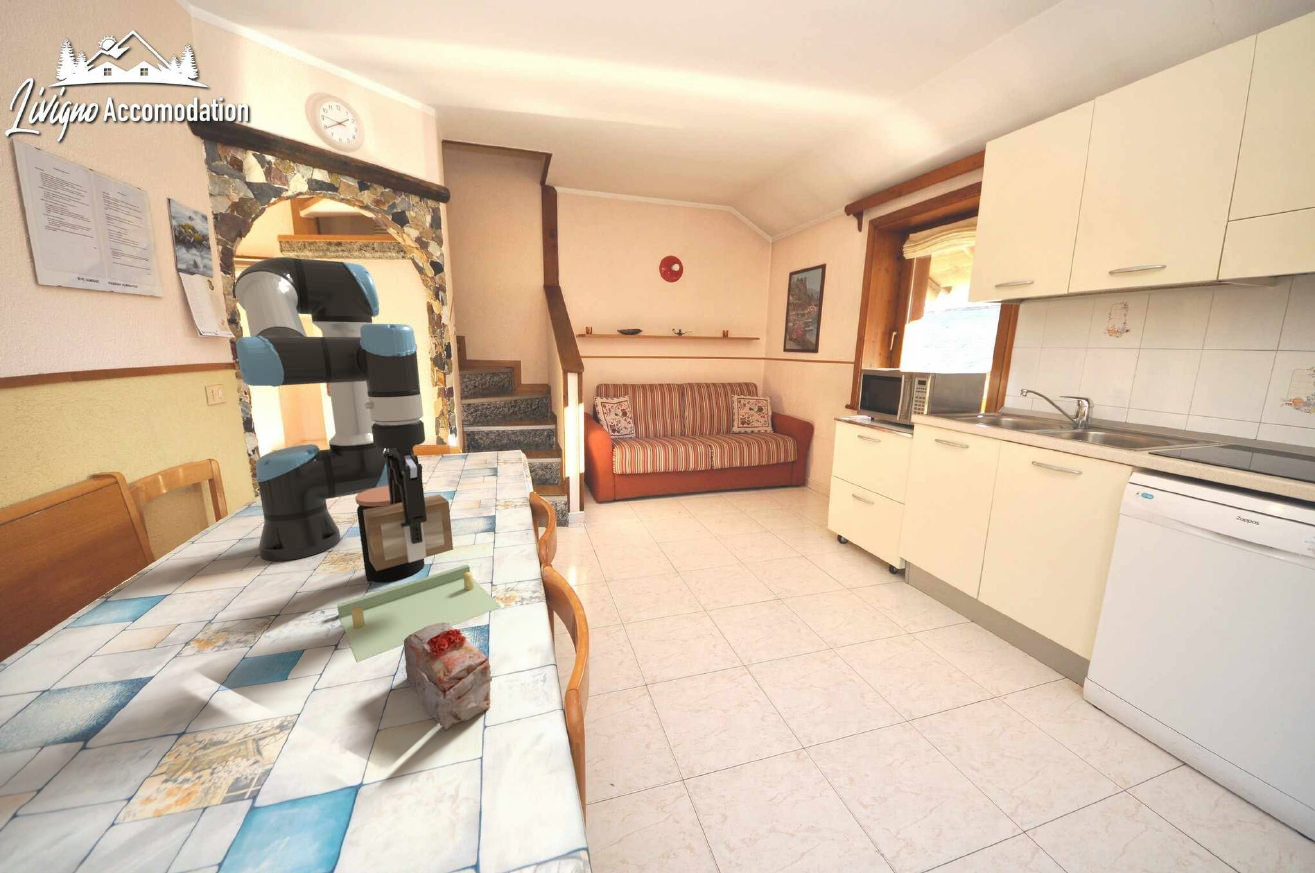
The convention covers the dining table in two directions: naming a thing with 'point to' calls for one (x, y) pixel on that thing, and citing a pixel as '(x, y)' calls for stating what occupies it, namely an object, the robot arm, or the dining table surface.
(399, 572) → the coffee jar
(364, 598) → the ledge board
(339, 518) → the dining table surface
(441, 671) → the food item
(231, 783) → the dining table surface
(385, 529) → the brown box-like piece
